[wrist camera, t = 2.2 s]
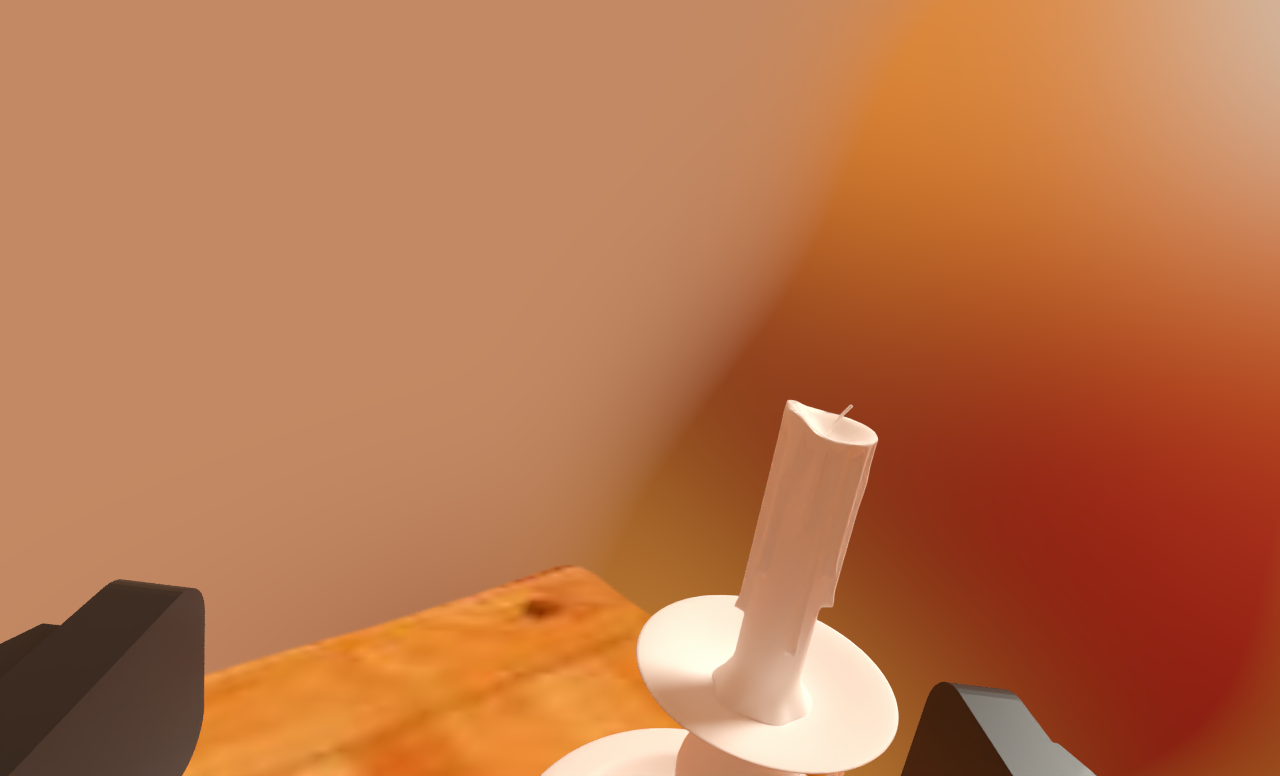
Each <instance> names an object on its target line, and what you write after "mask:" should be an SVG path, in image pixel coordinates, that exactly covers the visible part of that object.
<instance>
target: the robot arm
mask: <svg viewBox="0 0 1280 776" xmlns="http://www.w3.org/2000/svg"><path fill="white" fill-rule="evenodd" d="M204 615H205V608H204V600H203V596H202V594H201V593H200V591H199V590H197V589H195V588H186V587H179V586H170V585H162V584H154V583H145V582H138V581H129V580H121V579H119V580H116V581H113V582H111V583H109V584H108V585H106V586H105V587H104V588H103V589H101V590H100V591H99V592H98V593H97V594H96V595H95V596H93V597H92V598H91V599H90V600H89V601H88V602H87V603H86V604H85V605H83V606H82V607H81V608H80V609H79V610H78V611H76V612H75V613H74V614H73V615H72V616H71V617H70V618H68V619H67V620H66V621H65V622H64V623H63V624H62V625H51V624H40V625H38V626H36V627H34V628H32V629H30V630H28V631H26V632H24V633H22V634H20V635H18V636H16V637H14V638H12V639H10V640H8V641H5V642H3V643H1V644H0V776H182V775H183V773H184V771H185V769H186V768H187V766H188V764H189V761H190V759H191V757H192V755H193V752H194V750H195V747H196V744H197V741H198V738H199V734H200V731H201V726H202V721H203V714H204V632H205V631H204V629H205V618H204V617H205V616H204ZM901 776H1096V775H1095V774H1094V773H1092V772H1091V771H1090V770H1089V769H1088V768H1087V767H1085V766H1084V765H1083V764H1082V763H1081V762H1079V761H1078V760H1077V759H1076V758H1075V757H1073V756H1072V755H1071V754H1070V753H1069V752H1067V751H1066V750H1065V749H1064V748H1063V747H1061V746H1060V745H1059V744H1058V743H1052V741H1051V740H1050V739H1049V738H1048V736H1047V735H1046V734H1045V732H1044V731H1043V729H1042V728H1041V727H1040V725H1039V724H1038V723H1037V722H1036V720H1035V719H1034V718H1033V716H1032V715H1031V714H1030V712H1029V711H1028V710H1027V708H1026V707H1025V706H1024V704H1023V703H1022V701H1021V700H1020V699H1019V698H1018V697H1017V696H1016V695H1015V694H1014V693H1012V692H1011V691H1009V690H1005V689H998V688H989V687H981V686H973V685H964V684H957V683H948V682H941V683H939V684H937V685H935V686H934V687H933V689H932V690H931V692H930V694H929V696H928V698H927V701H926V704H925V707H924V710H923V712H922V715H921V718H920V721H919V725H918V727H917V730H916V733H915V736H914V739H913V742H912V745H911V748H910V750H909V753H908V756H907V759H906V762H905V765H904V768H903V771H902V774H901Z"/></svg>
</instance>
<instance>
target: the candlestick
mask: <svg viewBox="0 0 1280 776" xmlns="http://www.w3.org/2000/svg"><path fill="white" fill-rule="evenodd" d="M852 407H853V406H852V405H850V406H848V407H847V408H846V409H845V410H844V411H843V412H842V413H841V414H840V415H837V414H833V413H829V412H826V411H822V410H818V409H814V408H811V407H808V406H805V405H803V404H801V403H799V402H797V401H794V400H788V401H787V403H786V407H785V410H784V413H783V418H782V424H781V428H780V432H779V436H778V441H777V444H776V449H775V453H774V457H773V461H772V465H771V469H770V473H769V478H768V482H767V486H766V490H765V494H764V498H763V502H762V506H761V511H760V515H759V519H758V523H757V527H756V531H755V535H754V539H753V544H752V548H751V552H750V556H749V560H748V564H747V568H746V572H745V576H744V581H743V585H742V589H741V593H740V595H739V596H731V595H710V596H699V597H693V598H688V599H684V600H681V601H678V602H675V603H673V604H671V605H668V606H666V607H664V608H663V609H661V610H660V611H658V612H657V613H655V614H654V615H653V616H652V617H651V618H650V619H649V620H648V621H647V622H646V624H645V625H644V627H643V628H642V630H641V632H640V634H639V637H638V641H637V647H636V657H637V664H638V668H639V671H640V674H641V677H642V679H643V681H644V683H645V685H646V687H647V688H648V690H649V692H650V693H651V695H652V696H653V698H654V699H655V700H656V701H657V703H658V704H659V705H660V706H661V707H662V708H663V709H664V710H665V712H666V713H667V714H668V715H670V716H671V717H672V718H673V719H674V720H675V721H676V722H677V723H678V724H680V725H681V726H682V727H683V728H685V729H686V730H685V729H670V728H655V729H641V730H633V731H627V732H622V733H618V734H613V735H610V736H606V737H603V738H600V739H597V740H595V741H592V742H590V743H588V744H585V745H583V746H581V747H579V748H577V749H575V750H574V751H572V752H570V753H569V754H567V755H565V756H564V757H562V758H561V759H559V760H558V761H557V762H555V763H554V764H553V765H551V766H550V767H549V768H548V769H547V770H546V771H544V772H543V773H542V774H541V775H540V776H806V775H805V774H826V776H843V775H844V772H845V771H848V770H852V769H855V768H858V767H861V766H863V765H865V764H867V763H869V762H871V761H873V760H874V759H876V758H877V757H878V756H880V755H881V754H882V753H883V752H884V751H885V750H886V749H887V748H888V747H889V745H890V744H891V742H892V740H893V739H894V737H895V734H896V731H897V727H898V708H897V703H896V699H895V696H894V694H893V691H892V689H891V687H890V685H889V683H888V681H887V680H886V678H885V677H884V675H883V674H882V672H881V671H880V670H879V669H878V667H877V666H876V665H875V663H874V662H873V661H872V660H871V659H870V658H869V657H868V656H867V655H866V654H865V653H864V652H863V651H862V650H861V649H859V648H858V647H857V646H856V645H855V644H854V643H852V642H851V641H850V640H848V639H847V638H845V637H844V636H843V635H841V634H840V633H838V632H837V631H835V630H834V629H832V628H831V627H829V626H827V625H825V624H824V623H822V622H820V621H818V620H817V616H818V613H819V611H820V609H821V608H822V607H833V604H834V593H835V588H836V585H837V581H838V578H839V574H840V571H841V567H842V563H843V560H844V557H845V553H846V550H847V546H848V543H849V539H850V536H851V532H852V529H853V525H854V522H855V518H856V514H857V511H858V508H859V505H860V502H861V500H862V497H863V494H864V491H865V488H866V484H867V480H868V475H869V471H870V466H871V462H872V458H873V455H874V451H875V448H876V444H877V441H878V438H877V436H876V434H875V432H874V431H873V430H871V429H870V428H868V427H867V426H865V425H863V424H861V423H859V422H857V421H854V420H852V419H849V418H846V417H843V416H844V415H845V414H846V413H847V412H848V411H849V410H850V409H851V408H852Z"/></svg>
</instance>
